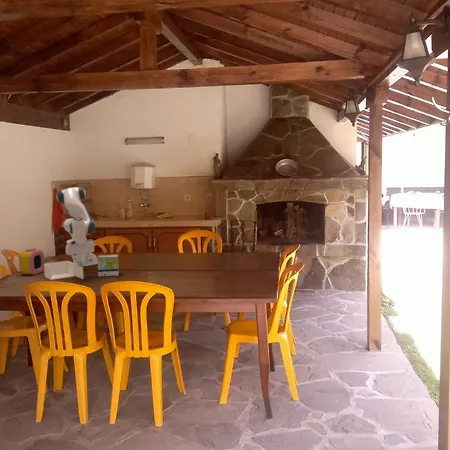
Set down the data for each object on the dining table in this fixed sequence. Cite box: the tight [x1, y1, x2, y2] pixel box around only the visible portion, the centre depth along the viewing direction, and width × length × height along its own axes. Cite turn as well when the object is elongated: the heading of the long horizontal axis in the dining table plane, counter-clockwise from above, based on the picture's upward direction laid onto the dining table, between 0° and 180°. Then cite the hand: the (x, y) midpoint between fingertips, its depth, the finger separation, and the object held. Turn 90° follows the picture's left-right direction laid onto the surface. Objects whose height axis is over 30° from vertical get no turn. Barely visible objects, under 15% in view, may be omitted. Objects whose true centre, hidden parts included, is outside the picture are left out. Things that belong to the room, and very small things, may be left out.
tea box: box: [97, 254, 120, 277], centre depth 370 cm, size 15×10×15 cm, turn 101°
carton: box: [43, 260, 75, 281], centre depth 368 cm, size 18×14×10 cm
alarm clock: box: [18, 247, 45, 276], centre depth 382 cm, size 18×11×19 cm, turn 168°
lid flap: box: [73, 261, 84, 280], centre depth 360 cm, size 17×2×12 cm, turn 36°
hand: (80, 259), depth 356 cm, fingers open, 8 cm apart
